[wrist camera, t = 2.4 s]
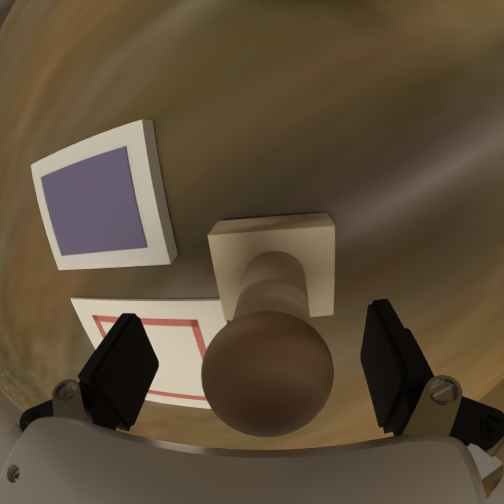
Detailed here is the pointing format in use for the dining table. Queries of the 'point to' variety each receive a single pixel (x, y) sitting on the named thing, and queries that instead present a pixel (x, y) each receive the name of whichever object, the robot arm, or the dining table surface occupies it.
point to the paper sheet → (163, 339)
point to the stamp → (271, 322)
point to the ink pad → (106, 201)
